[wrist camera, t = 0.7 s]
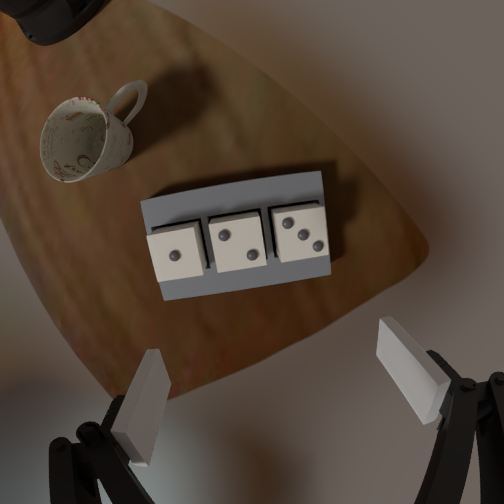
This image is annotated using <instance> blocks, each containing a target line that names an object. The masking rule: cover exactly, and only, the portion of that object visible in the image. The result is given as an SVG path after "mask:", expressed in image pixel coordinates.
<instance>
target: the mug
mask: <svg viewBox="0 0 504 504" xmlns="http://www.w3.org/2000/svg"><path fill="white" fill-rule="evenodd" d="M147 89H148V87H147V84H146V82H144V81H142V80H137V81H133V82H130V83H128V84H126V85H124V86H123V87H122V88H120V89H119V90H118V91H117V92H116V94H115V95H114V96H113V97H112V98H111V99H110V101H109V102H108V103H107V104H106V106H105V107H104V106H102V105H101V104H100V103H98V102H97V101H95V100H93V99H91V98H88V97H75V98H71V99H69V100H67V101H65V102H63V103H62V104H61V105H59V106H58V107H57V108H56V109H55V110H54V111H53V112H52V114H51V115H50V116H49V118H48V120H47V121H46V123H45V126H44V128H43V131H42V135H41V140H40V155H41V159H42V163H43V165H44V167H45V169H46V171H47V172H48V173H49V174H50V175H51V176H52V177H53V178H55V179H56V180H58V181H61V182H76V181H80V180H83V179H86V178H88V177H91V176H94V175H97V174H100V173H103V172H106V171H109V170H112V169H115V168H118V167H120V166H121V165H123V164H124V163H125V162H126V161H127V160H128V158H129V157H130V155H131V153H132V150H133V135H132V133H131V131H130V129H129V128H128V127H127V126H126V125H127V124H128V123H129V122H130V121H131V120H132V119H133V118H134V117H135V115H136V114H137V113H138V112H139V111H140V110H141V108H142V106H143V104H144V102H145V99H146V96H147ZM132 91H138V100H137V103H136V105H135V107H134V108H133V109H132V111H131V112H130V113H129V115H128V116H127V117H126V119H125V120H124V122H121V121H120V120H119V119H118V118H117V117H115V116H114V115H113V114H112V113H111V111H112V110H113V109H114V108H115V106H116V105H117V104H118V102H119V101H120V100H121V99H122V98H123V97H124V96H125V95H126V94H128V93H130V92H132Z"/></svg>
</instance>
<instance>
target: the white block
mask: <svg viewBox="0 0 504 504" xmlns="http://www.w3.org/2000/svg"><path fill="white" fill-rule="evenodd" d="M147 241H148V245H149V249H150V253H151V257H152V261H153V265H154V269H155V273H156V277H157V281H158V282H161V281H168V280H175V279H181V278H188V277H195V276H201V275H204V272H205V269H206V266H207V260H206V256H205V251H204V246H203V241H202V236H201V230H200V225H199V221H196V222H190V223H185V224H179V225H174V226H168V227H163V228H158V229H155V230H154V231H153V232H151V233H150V234H149V235H147Z"/></svg>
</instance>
